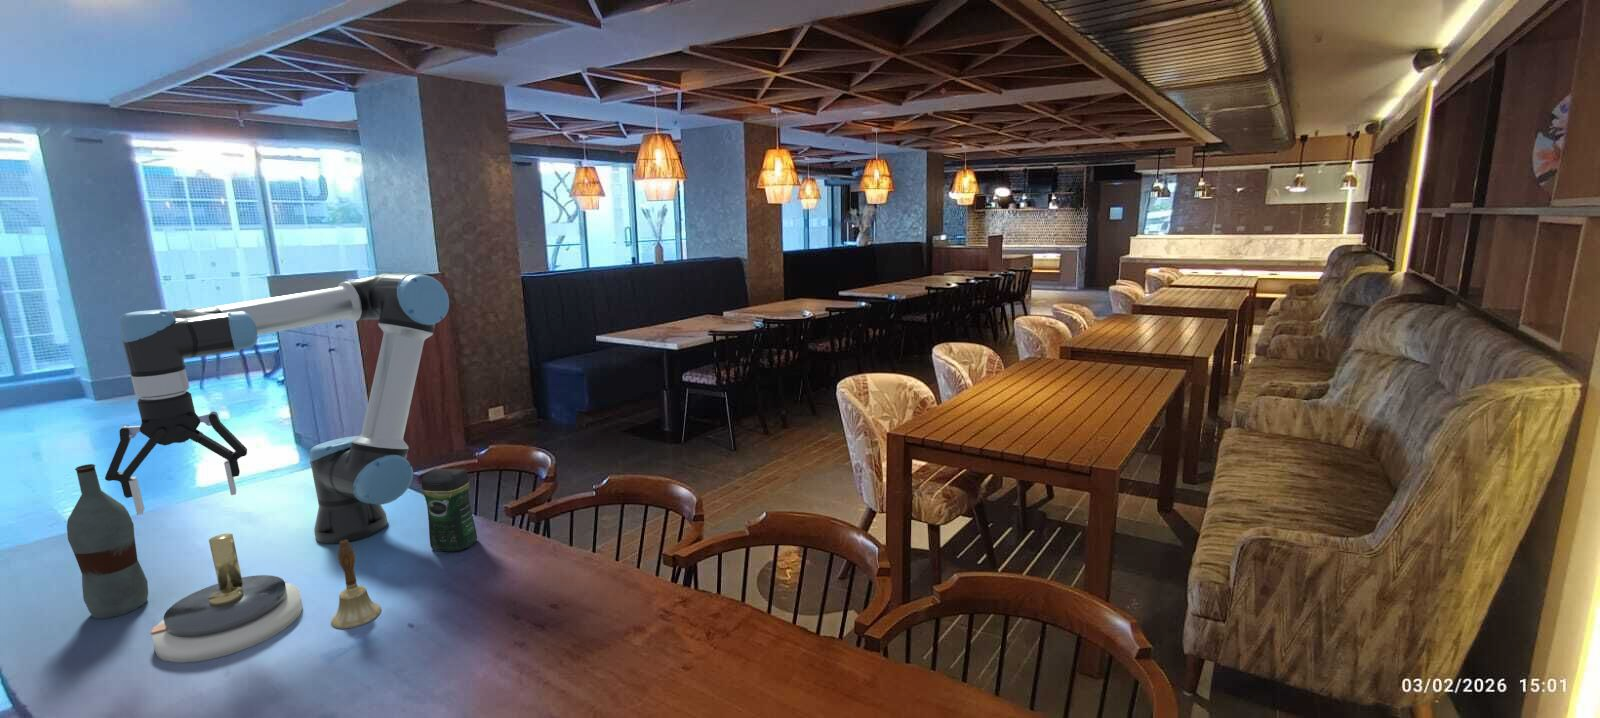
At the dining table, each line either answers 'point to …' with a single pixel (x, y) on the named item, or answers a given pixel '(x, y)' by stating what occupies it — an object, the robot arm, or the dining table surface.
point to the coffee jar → (449, 509)
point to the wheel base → (227, 634)
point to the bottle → (105, 550)
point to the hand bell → (352, 595)
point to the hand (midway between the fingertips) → (188, 502)
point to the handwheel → (225, 597)
